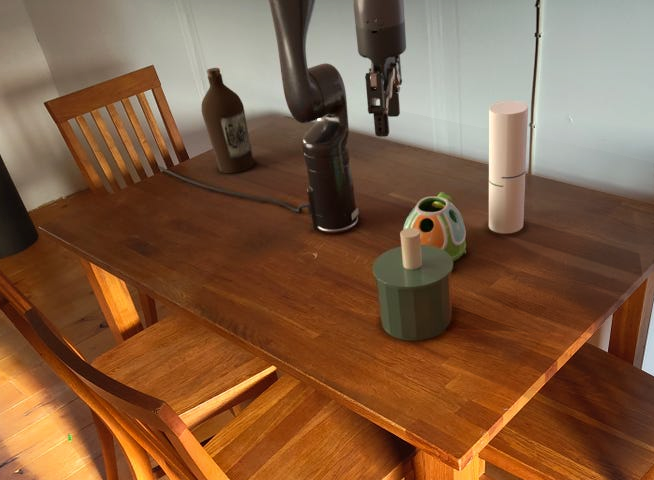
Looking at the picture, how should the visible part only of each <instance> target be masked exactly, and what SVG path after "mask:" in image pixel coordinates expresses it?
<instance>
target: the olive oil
mask: <svg viewBox="0 0 654 480" xmlns="http://www.w3.org/2000/svg"><path fill="white" fill-rule="evenodd" d="M206 74H207V79H208V83H209V88H208V89H207V91H206V93H205V95H204V97H203V98H202V101H201V115H202V118H203V122H204V125H205V129H206V131H207V134H208V137H209V140H210V143H211V146H212V149H213V153H214V156H215V160H216V163H217V167H218V170H219V171H220V172H222V173H225V174H238V173H242V172H245V171H247V170H249V169H251V168H252V167H253V166H254V162H255V161H254V156H253V152H252V144H251V142H250V135H249V130H248V125H247V119H246V112H245V107H244V104H243V100H241V97H240V96H239V94H238V93H236V92H235V91H233V90H232V89H231V88H229V87H228V86H227V85H226V84H225V83H224V81H223V76H222V73H221V69H220V68H219V67H211V68H208V69H207V70H206Z"/></svg>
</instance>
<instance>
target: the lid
mask: <svg viewBox="0 0 654 480" xmlns="http://www.w3.org/2000/svg"><path fill="white" fill-rule="evenodd" d="M399 237H400V238H399V239H400V246H396V247H393V248H390V249H389V250H386V251H384V252H383V253H382V254H380V255H379V256H378V257H377V258H376V259H375V260H374V262H373V264H372V274H373V276H374V278H375V281H376V280H377V281H379V282H380V283H381V284H383V285H385V286H388V287H390V288H395V289H401V290H416V289H422V288H427V287H430V286H433V285H436V284H438V283H440V282H442V281H443V280H445V279H446V278H447V277H448V276H449V275H450V274H451V275H452V272H453V270H454V261H453V260H452V258H451V256H450V255H449V254H448V253H447V252H446V251H444V250H442V249H440V248H438V247H434V246H430V245H421V239H420V231H419V230H418V229H416V228H406V229H404V230H403V229H402V230H401V231H400V233H399Z"/></svg>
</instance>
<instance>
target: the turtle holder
mask: <svg viewBox="0 0 654 480" xmlns="http://www.w3.org/2000/svg"><path fill="white" fill-rule="evenodd" d="M402 228H403V229H402V230H404V229H406V228H416V229H418V230H419V231H420V239H421V245H430V246H434V247H438V248H440V249H442V250H444V251H446V252H447V253H448V254H449V255H450V256H451V258H452V260H453V262H455V261H457V260H459V259H460V258H461V257H462V256H463V255H464V254H466V253H467V250H466V248H467V241H466V236H467V230H466V226H465V223H464V219H463V217H462V213H461V212H460V211H459V209H458V208H457V207H456V206H455V204H453V202H452V197H451V196H450V195H448V194H447V193H445V192H444V191H440V192H439V194H437V196H435V195H432V196H430V195H429V196H426V197H423V198H421V199H420V200H419V201H418V202H417V203H416V205H415V207H413V209H412V210H411V211H410V212H409V214H408V216H407V217H406V220H405V222H404V225H403V227H402Z"/></svg>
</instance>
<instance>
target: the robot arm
mask: <svg viewBox="0 0 654 480" xmlns="http://www.w3.org/2000/svg"><path fill="white" fill-rule="evenodd" d="M268 2H269V7H270V13H271V18H272V23H273V27H274V28H273V29H274V32H275V38H276V44H277V52H278V59H279V66H280V67H279V68H280V73H281V74H280V75H281V76H280V77H281V82H282V88H283V94H284V99H285V102H286V105H287V108H288V111H289V113H290V114H291V116H292V117H293V119H294V120H296V122H298V123H300V124H308V123H311V122H313V121H315V122H314V124H313V125H312V126H311V128H310V129H308V131H307V132H306V133H305V134H304V136H303V137H302V141H301V145H302V150H303V156H304V161H305V167H306V173H307V178H308V184H309V186H308V188H307V190H306V193H307V199H308V203H303V204H300V205H298V207H297V208H295V207H294V206H291V205H290V204H288V203H286V202H284V201H282V200H279V199H275V198H270V197H264V196H258V195H252V194H248V193H243V192H236V191H234V190H233V191H232V190H227V189H223V188H219V187H214V186H211V185H209V184H208V185H207V184H205V183H201V182H198V181H196V180H192V179H191V178H187V177H185V176H183V175H180V174H178V173H176V172H174V171H171V170H169V169H167V168H165V167H162V166H158V169H159V170H161V171H162V172H164V173H166V174H169V175H171V176H173V177H176V178H178V179H180V180H181V181H185V182H187V183H190V184H192V185H194V186H198V187H201V188H204V189H207V190H210V191H215V192H219V193H223V194H228V195H232V196H236V197H241V198H246V199H253V200H257V201H262V202H263V201H264V202H269V203H273V204H277V205H280V206H283V207H284V208H287V209H289V210H291V212H295V213H301V212H302V210H303V209H304V208H307V210H308V211H307V212H308V215H311V220H312V227H313V230H314V231H319V232H321V233H324V234H330V235H334V234H342V233H346V232H349V231H351V230H353V229H354V228H356V227H357V225H358V224H359V217H358V216H359V213H360V212H359V207H357V204H356V196H355V195H356V194H355V189H354V188H355V187H354V182H353V181H354V180H353V173H352V166H351V165H352V164H351V157H350V151H349V144H348V138H349V134H350V126H349V125H350V124H349V113H348V101H347V100H348V99H347V92H346V91H347V90H346V87H345V82H344V80H343V77H342V74H341V73H340V72H339V70H338V69H337V68H336V67H335V65H333V64H331V63H320V64H317V65H314V66H311V67H308V61H307V37H308V33H309V28H310V24H311V21H312V17H313V15H314V10H315V5H316V2H317V0H268ZM352 2H353V3H352V4H353V14H354V15H353V16H354V25H355V35H356V44H357V52H358V55H359V56H360V57H361V58H363V59H368V60H369V61H370V62H371V63H370V66H371V67H370V68H368V72H366V73H365V76H364V79H365V88H366V90H365V91H366V100H367V113H368V114H369V115H372V114H373V125H374V134H375V136H376V137H377V138H379V137H381V138H383V137H384V138H387V137H388V136H389V134H390V123H389V121H390V120H389V117H390V118H393V117H396V118H397V117H399V116H400V114H401V109H400V108H401V106H400V91H401V86H402V83H403V79H402V65H401V55H402V54H404V53H405V52H406V49H407V39H406V38H407V35H406V19H405V1H404V0H353V1H352ZM377 100H379V104H378V105H377Z"/></svg>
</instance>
